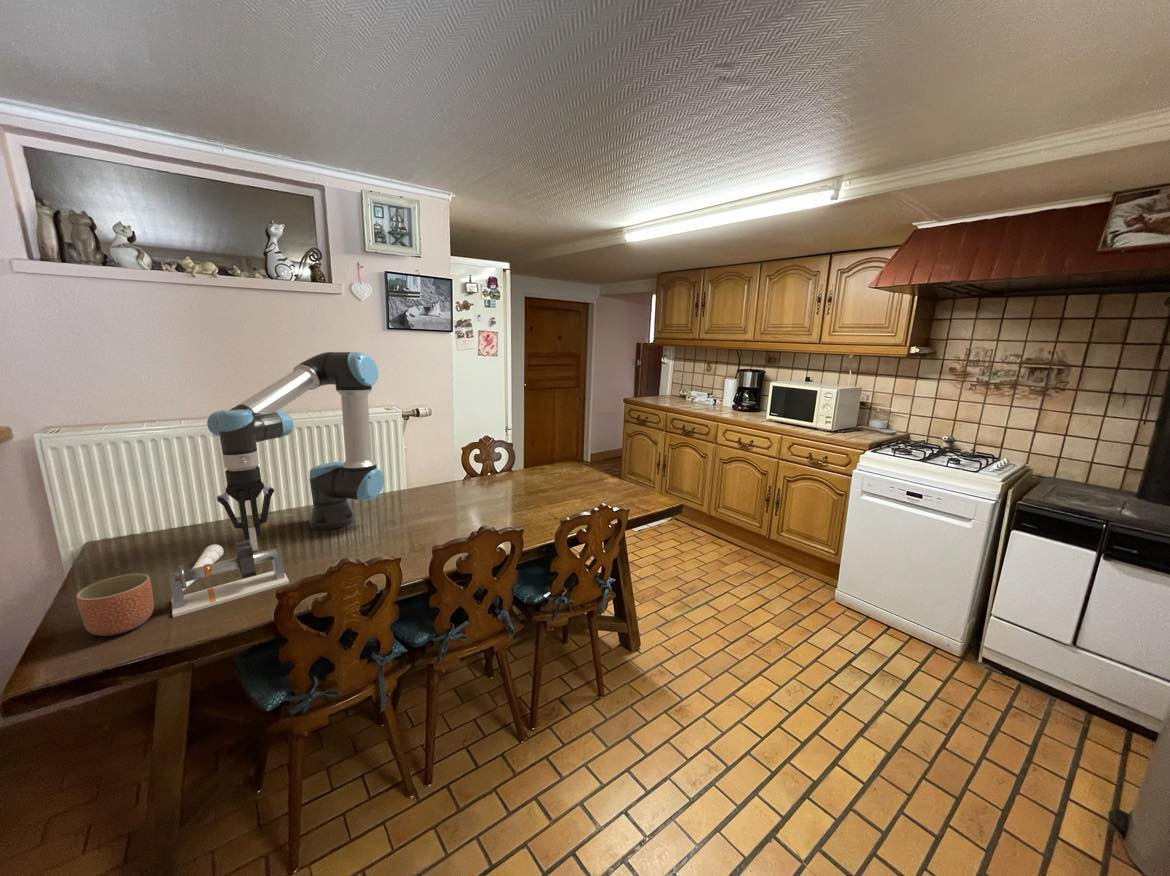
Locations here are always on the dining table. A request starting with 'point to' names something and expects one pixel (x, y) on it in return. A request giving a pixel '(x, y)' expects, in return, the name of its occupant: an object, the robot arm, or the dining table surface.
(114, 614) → the planter
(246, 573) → the collar
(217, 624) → the dining table surface
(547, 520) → the dining table surface
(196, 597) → the board
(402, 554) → the dining table surface
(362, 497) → the robot arm
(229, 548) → the dining table surface
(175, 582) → the linear slide rail
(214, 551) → the unicorn horn
